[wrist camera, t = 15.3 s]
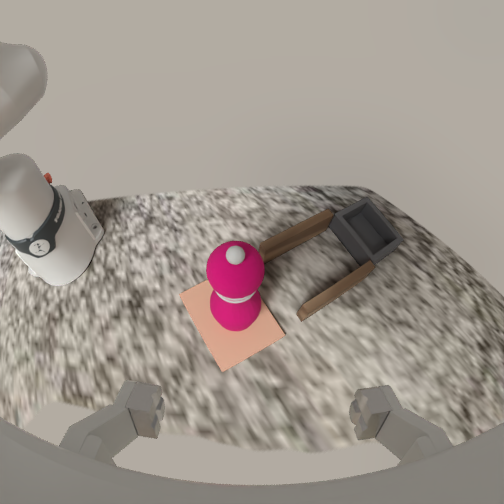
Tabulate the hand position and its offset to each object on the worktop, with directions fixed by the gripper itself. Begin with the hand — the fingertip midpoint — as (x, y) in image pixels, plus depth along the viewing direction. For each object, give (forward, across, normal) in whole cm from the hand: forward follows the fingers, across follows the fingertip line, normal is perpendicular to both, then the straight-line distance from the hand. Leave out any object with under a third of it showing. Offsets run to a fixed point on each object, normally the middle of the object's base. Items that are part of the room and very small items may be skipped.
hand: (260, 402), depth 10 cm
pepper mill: (+31, +2, +13) cm, 34 cm away
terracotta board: (+31, +2, +14) cm, 34 cm away
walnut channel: (+37, -11, +7) cm, 39 cm away
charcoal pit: (+42, -22, +3) cm, 47 cm away
